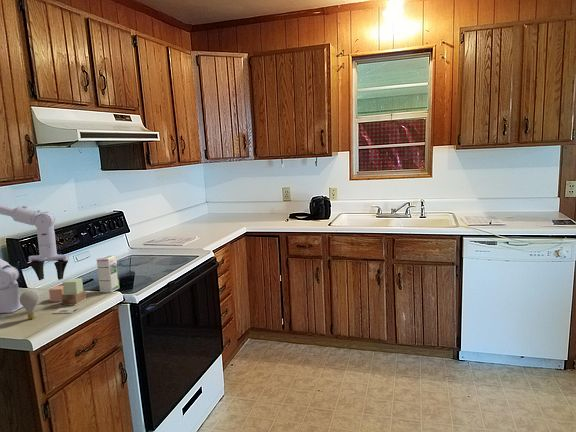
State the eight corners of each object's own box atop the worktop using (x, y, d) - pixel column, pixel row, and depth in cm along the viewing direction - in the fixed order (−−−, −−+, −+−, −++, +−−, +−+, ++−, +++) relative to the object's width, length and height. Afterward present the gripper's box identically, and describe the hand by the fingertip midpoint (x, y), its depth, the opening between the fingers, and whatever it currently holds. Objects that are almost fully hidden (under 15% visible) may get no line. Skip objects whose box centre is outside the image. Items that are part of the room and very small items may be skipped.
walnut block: (62, 305, 160) (61, 295, 160) (72, 300, 166) (71, 290, 166) (76, 305, 159) (75, 295, 159) (86, 300, 165) (85, 290, 165)
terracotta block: (50, 301, 165) (49, 289, 164) (57, 297, 170) (56, 285, 169) (62, 301, 164) (61, 289, 164) (69, 297, 169) (68, 285, 169)
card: (52, 313, 150) (52, 312, 150) (60, 309, 155) (60, 307, 155) (71, 313, 150) (71, 312, 150) (78, 308, 155) (78, 307, 155)
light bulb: (18, 321, 144) (14, 293, 143) (30, 315, 149) (27, 288, 148) (32, 321, 143) (29, 293, 142) (44, 316, 148) (41, 288, 147)
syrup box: (112, 292, 174) (109, 258, 172) (99, 292, 175) (96, 258, 173) (120, 288, 180) (117, 255, 178) (107, 288, 181) (104, 255, 179)
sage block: (64, 294, 160) (62, 282, 159) (70, 291, 165) (69, 278, 164) (77, 294, 160) (75, 281, 159) (83, 290, 165) (82, 278, 164)
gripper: (21, 247, 155) (25, 282, 156) (59, 246, 154) (63, 281, 156) (33, 243, 162) (37, 277, 163) (70, 242, 161) (73, 276, 163)
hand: (51, 279), depth 160 cm, fingers open, 7 cm apart
